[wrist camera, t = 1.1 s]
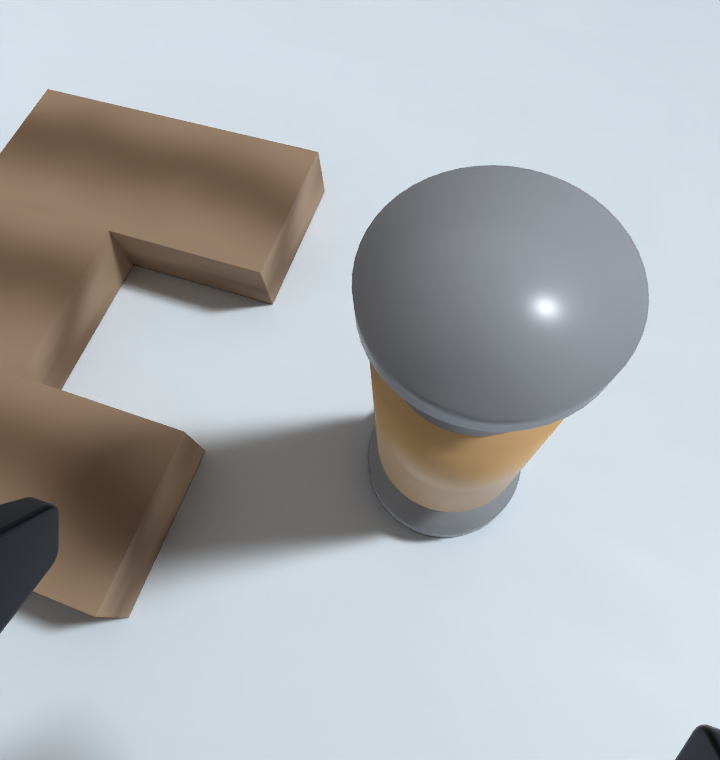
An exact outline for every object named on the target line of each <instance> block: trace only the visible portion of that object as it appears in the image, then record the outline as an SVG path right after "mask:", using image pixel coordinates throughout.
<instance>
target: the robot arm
mask: <svg viewBox="0 0 720 760" xmlns="http://www.w3.org/2000/svg"><path fill="white" fill-rule="evenodd" d="M58 551H59V510H58V508H57V506H56V505H54V504H53V503H50V502H47V501H44V500H41V499H38V498H35V497H26V498H22V499H18V500H15V501H11V502H7V503H4V504H0V633H1V632H2V630H3V629H4V628H5V626H6V625H7V624H8V623H9V621H10V620H11V619H12V617H13V616H14V615H15V614H16V612H17V611H18V610H19V608H20V607H21V606H22V605H23V603H24V602H25V601H26V599H27V598H28V597H29V595H30V594H31V593H32V592H33V590H34V589H35V588H36V586H37V585H38V584H39V583H40V581H41V580H42V579H43V577H44V576H45V575H46V574H47V572H48V571H49V570H50V568H51V567H52V565H53V564H54V562H55V560H56V558H57V555H58ZM675 760H720V729H718V728H715V727H712V726H709V725H700V726H698V727H696V729H695V730H694V731H693V733H692V734H691V736H690V737H689V739H688V740H687V742H686V744H685V745H684V747H683V748H682V750H681V751H680V753H679V755H678V756H677V758H676V759H675Z"/></svg>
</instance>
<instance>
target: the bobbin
mask: <svg viewBox="0 0 720 760" xmlns="http://www.w3.org/2000/svg"><path fill="white" fill-rule="evenodd" d="M352 294H353V302H354V310H355V318H356V325H357V330H358V333H359V337H360V340H361V343H362V346H363V348H364V350H365V352H366V355H367V357H368V359H369V360H370V369H371V380H372V390H373V401H374V412H375V423H376V426H375V428H374V430H373V432H372V436H371V439H370V443H369V450H368V463H369V471H370V477H371V481H372V484H373V487H374V490H375V492H376V495H377V497H378V498H379V500H380V502H381V503H382V505H383V506H384V507H385V509H386V510H387V511H388V512H389V513H390V514H391V515H392V516H393V517H394V518H395V519H396V520H397V521H399V522H400V523H401V524H403V525H404V526H406V527H408V528H410V529H411V530H414V531H416V532H418V533H421V534H425V535H428V536H434V537H457V536H462V535H466V534H469V533H472V532H474V531H477V530H479V529H480V528H482V527H484V526H485V525H487V524H488V523H489V522H491V521H492V520H493V519H494V518H495V517H496V516H497V515H498V514H499V513H500V512H501V511H502V510H503V509H504V508H505V507H506V505H507V504H508V502H509V501H510V500H511V498H512V496H513V494H514V492H515V490H516V487H517V484H518V481H519V476H520V471H521V469H522V468H523V467H524V466H525V465H526V463H527V462H528V461H529V460H530V459H531V457H532V456H533V455H534V454H535V453H536V451H537V450H538V449H539V448H540V447H541V445H542V444H543V443H544V442H545V441H546V440H547V438H548V437H549V436H550V435H551V434H552V432H553V431H554V430H555V429H556V428H557V426H558V425H559V424H560V423H561V422H562V420H563V419H564V418H566V417H568V416H570V415H571V414H573V413H575V412H576V411H578V410H580V409H582V408H583V407H584V406H586V405H587V404H588V403H589V402H591V401H592V400H593V399H594V398H596V397H597V396H598V395H599V394H600V393H601V391H602V390H603V389H604V388H605V387H606V386H607V385H608V384H609V383H610V382H611V381H612V379H613V378H614V377H615V376H616V375H617V374H618V373H619V372H620V371H621V370H622V368H623V367H624V366H625V365H626V364H627V362H628V361H629V359H630V358H631V356H632V355H633V353H634V352H635V350H636V348H637V346H638V343H639V341H640V339H641V337H642V335H643V331H644V327H645V324H646V320H647V314H648V305H649V294H648V282H647V277H646V273H645V268H644V265H643V262H642V260H641V257H640V254H639V252H638V250H637V248H636V246H635V244H634V243H633V241H632V239H631V237H630V236H629V234H628V233H627V231H626V230H625V229H624V227H623V226H622V225H621V223H620V222H619V221H618V220H617V219H616V218H615V217H614V216H613V215H612V214H611V212H610V211H609V210H608V209H606V208H605V207H604V206H603V205H602V204H600V203H599V202H598V201H597V200H596V199H594V198H593V197H591V196H590V195H588V194H587V193H585V192H584V191H582V190H581V189H579V188H577V187H575V186H573V185H571V184H569V183H567V182H566V181H563V180H561V179H558V178H556V177H553V176H551V175H548V174H545V173H541V172H537V171H534V170H530V169H524V168H518V167H512V166H497V165H490V166H473V167H466V168H459V169H455V170H451V171H447V172H443V173H440V174H438V175H435V176H432V177H429V178H427V179H425V180H423V181H421V182H419V183H417V184H415V185H413V186H411V187H410V188H408V189H407V190H405V191H403V192H402V193H400V194H399V195H398V196H397V197H395V198H394V199H393V200H392V201H391V202H389V203H388V204H387V205H386V206H385V207H384V208H383V209H382V210H381V212H380V213H379V214H378V215H377V216H376V217H375V219H374V220H373V221H372V223H371V224H370V226H369V227H368V229H367V230H366V232H365V234H364V236H363V238H362V240H361V242H360V245H359V248H358V251H357V254H356V257H355V261H354V267H353V273H352Z"/></svg>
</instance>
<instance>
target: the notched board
mask: <svg viewBox="0 0 720 760" xmlns="http://www.w3.org/2000/svg"><path fill="white" fill-rule="evenodd" d="M323 194H324V185H323V178H322V172H321V166H320V160H319V154H318V152H315V151H311V150H307V149H303V148H298V147H294V146H290V145H285V144H281V143H277V142H272V141H268V140H264V139H260V138H255V137H251V136H247V135H242V134H238V133H234V132H229V131H225V130H221V129H217V128H212V127H208V126H204V125H199V124H195V123H191V122H186V121H182V120H178V119H174V118H169V117H165V116H161V115H156V114H152V113H148V112H143V111H139V110H135V109H131V108H126V107H122V106H118V105H113V104H109V103H105V102H100V101H96V100H92V99H88V98H83V97H79V96H75V95H70V94H66V93H62V92H58V91H53V90H49V89H48V90H47V91H46V92H45V94H44V95H43V96H42V98H41V99H40V100H39V102H38V103H37V104H36V106H35V107H34V109H33V110H32V111H31V113H30V114H29V115H28V117H27V118H26V119H25V121H24V122H23V123H22V125H21V126H20V128H19V129H18V130H17V132H16V133H15V134H14V136H13V137H12V138H11V140H10V141H9V142H8V144H7V145H6V147H5V148H4V149H3V151H2V152H1V153H0V504H4V503H7V502H11V501H15V500H18V499H22V498H26V497H35V498H38V499H41V500H44V501H47V502H50V503H53V504H54V505H56V506H57V508H58V510H59V551H58V555H57V558H56V560H55V562H54V564H53V565H52V567H51V568H50V570H49V571H48V572H47V574H46V575H45V576H44V577H43V579H42V580H41V581H40V583H39V584H38V585H37V586H36V588H35V589H34V590H33V592H36V593H38V594H41V595H43V596H45V597H48V598H50V599H53V600H55V601H57V602H60V603H62V604H65V605H67V606H69V607H72V608H74V609H77V610H79V611H82V612H84V613H86V614H89V615H91V616H94V617H118V618H128V617H129V615H130V613H131V611H132V609H133V606H134V604H135V602H136V600H137V598H138V596H139V593H140V591H141V589H142V587H143V585H144V583H145V580H146V578H147V576H148V574H149V572H150V570H151V567H152V565H153V563H154V561H155V559H156V557H157V554H158V552H159V550H160V548H161V546H162V543H163V541H164V539H165V537H166V535H167V533H168V530H169V528H170V526H171V524H172V522H173V520H174V517H175V515H176V513H177V511H178V509H179V507H180V504H181V502H182V500H183V498H184V496H185V493H186V491H187V489H188V487H189V485H190V483H191V480H192V478H193V476H194V474H195V472H196V470H197V467H198V465H199V463H200V461H201V459H202V457H203V454H204V452H205V450H204V449H203V448H201V447H200V446H199V445H198V444H197V443H196V442H195V441H194V440H193V439H192V438H190V437H189V436H188V435H187V434H186V433H185V432H183V431H180V430H177V429H174V428H172V427H169V426H166V425H163V424H160V423H157V422H154V421H151V420H148V419H145V418H142V417H139V416H136V415H133V414H130V413H127V412H124V411H121V410H118V409H115V408H112V407H109V406H107V405H104V404H101V403H98V402H95V401H92V400H89V399H86V398H83V397H80V396H77V395H74V394H71V393H68V392H65V391H62V390H61V389H62V387H63V386H64V384H65V382H66V380H67V379H68V377H69V375H70V373H71V372H72V370H73V368H74V366H75V365H76V363H77V361H78V360H79V358H80V356H81V354H82V353H83V351H84V349H85V347H86V346H87V344H88V342H89V340H90V339H91V337H92V335H93V334H94V332H95V330H96V328H97V327H98V325H99V323H100V321H101V320H102V318H103V316H104V314H105V313H106V311H107V309H108V308H109V306H110V304H111V302H112V301H113V299H114V297H115V295H116V294H117V292H118V290H119V288H120V287H121V285H122V283H123V282H124V280H125V278H126V276H127V275H128V273H129V271H130V269H131V268H132V266H133V264H134V265H137V266H141V267H144V268H148V269H151V270H155V271H158V272H162V273H165V274H169V275H172V276H176V277H179V278H183V279H186V280H190V281H193V282H197V283H200V284H204V285H207V286H211V287H214V288H218V289H221V290H225V291H228V292H232V293H235V294H239V295H242V296H245V297H249V298H252V299H256V300H259V301H263V302H266V303H270V304H273V302H274V300H275V298H276V296H277V294H278V291H279V289H280V287H281V285H282V283H283V280H284V278H285V276H286V274H287V272H288V270H289V267H290V265H291V263H292V261H293V259H294V257H295V254H296V252H297V250H298V248H299V246H300V244H301V241H302V239H303V237H304V235H305V233H306V230H307V228H308V226H309V224H310V222H311V220H312V217H313V215H314V213H315V211H316V209H317V207H318V204H319V202H320V200H321V198H322V196H323Z"/></svg>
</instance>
